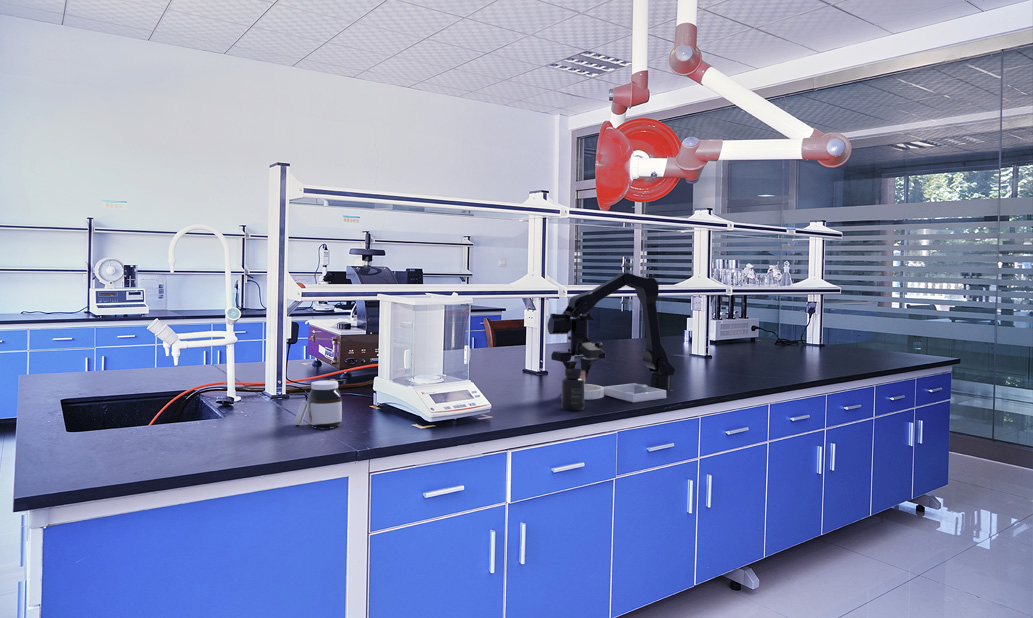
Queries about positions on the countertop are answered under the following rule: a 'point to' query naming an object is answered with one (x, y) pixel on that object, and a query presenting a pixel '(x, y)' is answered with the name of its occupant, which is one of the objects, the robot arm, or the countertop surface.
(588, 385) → the bowl
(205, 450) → the countertop surface
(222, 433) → the countertop surface
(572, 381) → the supplement bottle
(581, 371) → the beige rounded cube
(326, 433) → the countertop surface
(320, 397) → the spread jar
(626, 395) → the parts tray
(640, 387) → the grey cube
